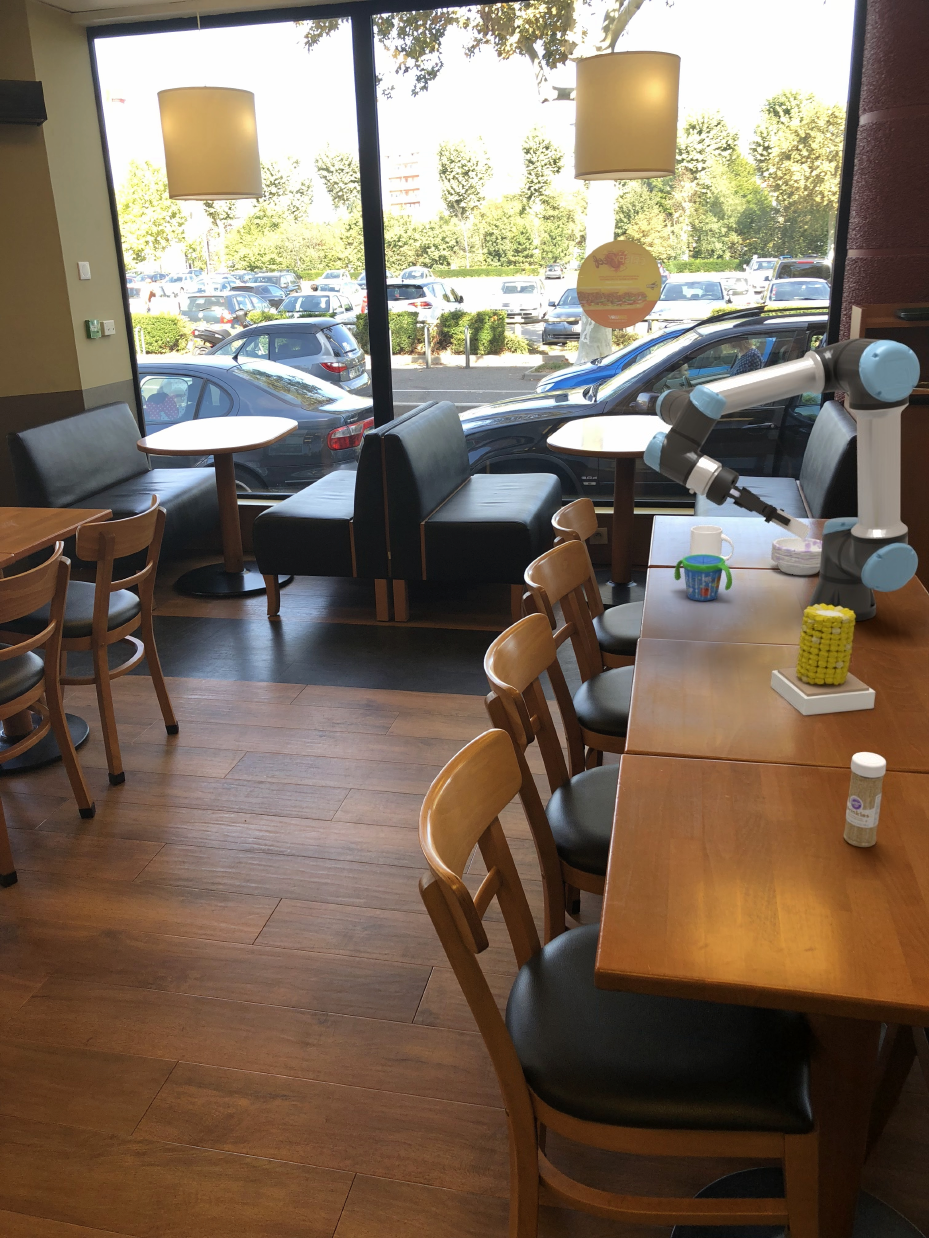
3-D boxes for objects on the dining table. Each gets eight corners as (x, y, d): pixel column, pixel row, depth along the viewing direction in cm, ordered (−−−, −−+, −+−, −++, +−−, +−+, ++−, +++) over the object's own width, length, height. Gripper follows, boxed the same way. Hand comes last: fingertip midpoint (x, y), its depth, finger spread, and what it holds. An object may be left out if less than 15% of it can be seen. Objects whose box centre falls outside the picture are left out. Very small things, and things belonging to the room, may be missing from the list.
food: (788, 688, 188) (814, 675, 195) (847, 691, 179) (871, 677, 186) (779, 611, 186) (805, 601, 193) (838, 610, 177) (863, 599, 184)
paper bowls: (834, 567, 270) (836, 539, 267) (820, 581, 258) (823, 553, 255) (778, 560, 278) (780, 533, 275) (763, 574, 266) (765, 546, 263)
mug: (729, 572, 269) (731, 534, 266) (686, 568, 274) (687, 531, 271) (735, 563, 277) (737, 527, 273) (693, 560, 282) (695, 524, 278)
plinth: (836, 679, 197) (837, 661, 196) (873, 708, 184) (875, 688, 183) (770, 686, 195) (772, 668, 194) (803, 715, 182) (805, 695, 181)
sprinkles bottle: (838, 841, 142) (847, 759, 138) (849, 828, 145) (858, 747, 141) (870, 852, 139) (880, 768, 135) (881, 838, 143) (891, 756, 138)
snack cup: (664, 595, 252) (665, 557, 249) (690, 586, 258) (691, 549, 255) (714, 609, 241) (716, 569, 237) (739, 599, 247) (742, 561, 243)
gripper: (711, 501, 213) (798, 550, 207) (695, 493, 190) (792, 548, 184) (730, 471, 211) (818, 519, 205) (715, 459, 188) (814, 513, 182)
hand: (806, 533), depth 194 cm, fingers open, 13 cm apart
